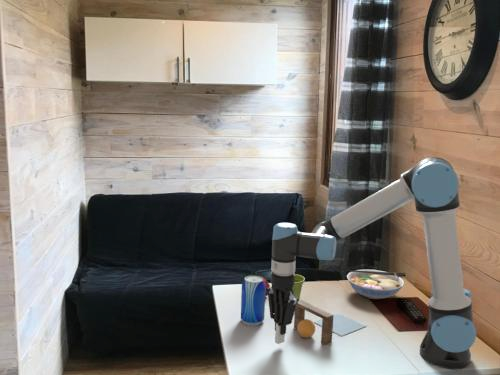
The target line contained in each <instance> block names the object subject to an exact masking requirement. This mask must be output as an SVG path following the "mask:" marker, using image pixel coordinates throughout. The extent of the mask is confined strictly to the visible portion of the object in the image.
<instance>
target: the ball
mask: <svg viewBox="0 0 500 375" xmlns="http://www.w3.org/2000/svg"><path fill="white" fill-rule="evenodd" d="M297 329H298V330H297V332H298V334H299V335H300V336H301V337H302V338H305V339H307V338H310V337H312V336H314V334H315V333H316V325H315V323H314V321H312V320H310V319H307V318H305V319H304V320H302V321H300V322H299V324H298V328H297Z"/></svg>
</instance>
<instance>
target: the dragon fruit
mask: <svg viewBox="0 0 500 375" xmlns="http://www.w3.org/2000/svg"><path fill="white" fill-rule="evenodd" d="M261 277H262V276H261ZM262 278H263V281H264V283H265V285H266V288H270V287H271V286H270V283H269V281H268V280H266V279H265V277H262ZM266 288H265V297H268V294H267V291H266Z"/></svg>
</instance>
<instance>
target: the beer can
mask: <svg viewBox="0 0 500 375" xmlns="http://www.w3.org/2000/svg"><path fill="white" fill-rule="evenodd" d="M263 278H264V277H263ZM263 278H262V276H260V275H259V276H258V275H248V276H245V277H244V280H243V282H242V283H241V295H240V298H241V299H240V300H241V301H240V320H241V321H242V322H243V324H244V325H247V326H252V327H253V326H259V325H261V324H262V323H263V321H264V320H265V311H266V310H265V309H266V308H265V307H266V296H265V288H266V285H265V283H264V281H263Z"/></svg>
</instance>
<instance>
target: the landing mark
mask: <svg viewBox="0 0 500 375" xmlns="http://www.w3.org/2000/svg"><path fill="white" fill-rule="evenodd" d="M333 315H334V316H333V331H332V333H333V334H335V335H338V336H340V337H343V336H346V335H349V334H351V333H354V332H356V331H359V330H361V329H363V328H366V327H367V325H365V324H362V323H361V322H358V321H356V320H353V319H352V318H349V317H347V316H345V315H343V314H341V313H339V312H338V313H336V314H333ZM313 323H314V324H316V325H318V326H320V327H322V318H321V319H319V320H316V321H313Z"/></svg>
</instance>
